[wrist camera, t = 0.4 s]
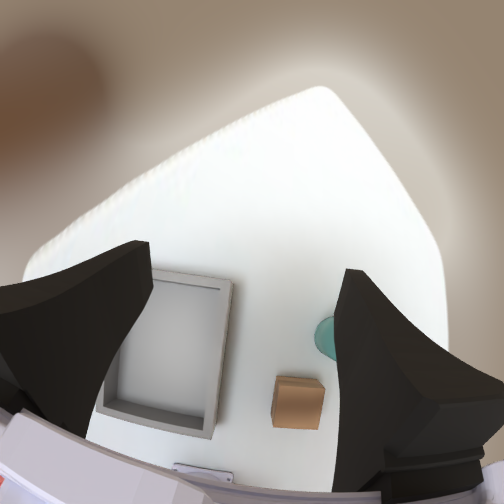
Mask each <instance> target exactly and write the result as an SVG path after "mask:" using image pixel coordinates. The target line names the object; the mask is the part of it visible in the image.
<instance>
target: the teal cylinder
mask: <svg viewBox="0 0 504 504" xmlns="http://www.w3.org/2000/svg"><path fill="white" fill-rule="evenodd" d="M315 344H316V346H317V348H318V349H319V351H320V352H321V353H323V354H324V355H326V356H328V357H330V358H331V359H333V360H335V361H336V353H335V344H334V317H329V318H327V319H325V320H323V321H322V322H321V323H320V324H319V325H318V327H317V329H316V332H315ZM336 362H337V361H336Z"/></svg>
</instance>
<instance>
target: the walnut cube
mask: <svg viewBox="0 0 504 504" xmlns="http://www.w3.org/2000/svg"><path fill="white" fill-rule="evenodd" d="M324 394H325V388H324V387H323V385H322V384H321V383H320V382H319V381H318V380H317V379H308V378H295V377H284V376H276V381H275V388H274V394H273V401H272V407H271V418H272V424H273V427H278V428H292V429H313V430H318V426H319V421H320V416H321V411H322V405H323V400H324Z"/></svg>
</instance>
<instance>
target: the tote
mask: <svg viewBox="0 0 504 504" xmlns="http://www.w3.org/2000/svg"><path fill="white" fill-rule="evenodd" d="M152 277H153V285H154V288H153V290H152V292H151V295H150V297H149V299H148V301H147V304H146V306H145V308H144V309H143V311H142V313H141V314H140V316H139V317H138V319H137V321H136V322H135V324H134V325H133V327H132V328H131V330H130V332H129V333H128V335H127V336H126V338H125V340H124V341H123V343H122V344H121V346H120V348H119V349H118V351H117V353H116V355H115V356H114V358H113V360H112V363H111V365H110V367H109V369H108V372H107V374H106V376H105V379H104V381H103V384H102V386H101V389H100V391H99V394H98V397H97V400H96V412H98V413H101V414H104V415H108V416H111V417H114V418H117V419H121V420H124V421H128V422H131V423H135V424H139V425H143V426H147V427H151V428H155V429H159V430H163V431H168V432H172V433H177V434H182V435H187V436H192V437H198V438H204V439H210V440H211V439H212V435H213V432H214V429H215V426H216V419H217V411H218V402H219V394H220V386H221V378H222V370H223V362H224V354H225V346H226V338H227V330H228V322H229V315H230V307H231V300H232V292H233V285H234V284H233V282H232V281H231V280H226V279H218V278H211V277H204V276H197V275H189V274H182V273H176V272H169V271H162V270H155V269H152Z"/></svg>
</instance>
